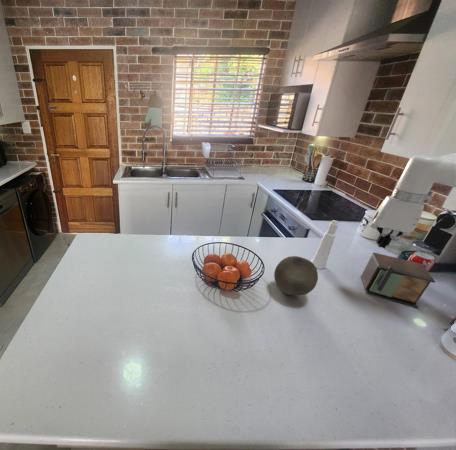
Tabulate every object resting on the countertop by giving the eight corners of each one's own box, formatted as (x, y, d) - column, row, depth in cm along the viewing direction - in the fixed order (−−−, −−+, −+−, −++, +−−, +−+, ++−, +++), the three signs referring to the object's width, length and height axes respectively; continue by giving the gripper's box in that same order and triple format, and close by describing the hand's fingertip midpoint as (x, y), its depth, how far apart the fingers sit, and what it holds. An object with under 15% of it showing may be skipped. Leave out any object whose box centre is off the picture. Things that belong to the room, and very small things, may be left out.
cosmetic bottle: (313, 259, 115) (330, 216, 105) (327, 266, 110) (346, 222, 100) (307, 264, 111) (324, 220, 101) (322, 270, 107) (341, 225, 97)
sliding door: (390, 296, 92) (408, 268, 87) (393, 302, 90) (411, 273, 84) (369, 290, 95) (384, 262, 89) (371, 295, 92) (387, 267, 87)
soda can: (405, 282, 102) (420, 258, 96) (394, 272, 108) (408, 249, 102) (425, 285, 100) (442, 261, 95) (413, 275, 106) (428, 252, 101)
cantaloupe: (261, 286, 96) (270, 254, 90) (285, 276, 102) (296, 245, 96) (293, 311, 85) (307, 276, 78) (318, 298, 91) (333, 265, 84)
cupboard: (406, 288, 98) (422, 264, 93) (417, 308, 89) (435, 282, 83) (360, 276, 105) (373, 252, 99) (366, 293, 95) (379, 267, 90)
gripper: (435, 197, 77) (405, 247, 85) (375, 188, 83) (353, 235, 92) (445, 205, 71) (412, 257, 80) (380, 194, 78) (356, 244, 86)
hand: (380, 245), depth 86 cm, fingers closed
